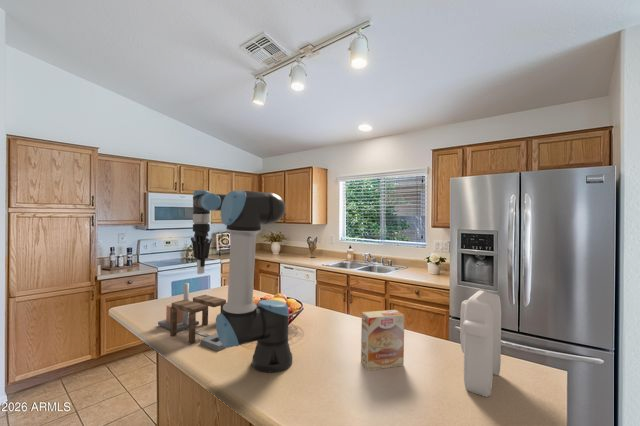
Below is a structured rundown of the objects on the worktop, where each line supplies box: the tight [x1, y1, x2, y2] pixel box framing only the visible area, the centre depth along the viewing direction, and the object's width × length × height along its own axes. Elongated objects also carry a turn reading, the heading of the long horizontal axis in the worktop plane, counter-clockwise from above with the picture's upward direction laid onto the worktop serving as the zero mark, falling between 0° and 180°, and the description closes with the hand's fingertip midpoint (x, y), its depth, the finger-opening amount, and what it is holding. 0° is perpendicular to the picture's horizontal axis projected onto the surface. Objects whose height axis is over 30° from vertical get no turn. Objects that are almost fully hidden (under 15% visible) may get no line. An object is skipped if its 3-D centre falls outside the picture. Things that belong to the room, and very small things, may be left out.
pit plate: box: [200, 332, 227, 352], centre depth 136 cm, size 12×14×2 cm
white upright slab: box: [459, 289, 503, 398], centre depth 107 cm, size 27×11×30 cm, turn 141°
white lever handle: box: [157, 282, 200, 332], centre depth 154 cm, size 16×12×21 cm
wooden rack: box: [169, 294, 227, 345], centre depth 150 cm, size 36×19×15 cm, turn 57°
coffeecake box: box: [360, 309, 405, 371], centre depth 117 cm, size 15×7×20 cm, turn 105°
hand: (200, 273), depth 145 cm, fingers closed
